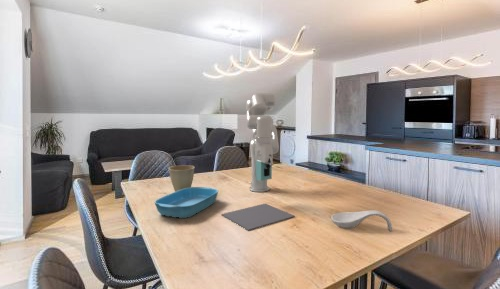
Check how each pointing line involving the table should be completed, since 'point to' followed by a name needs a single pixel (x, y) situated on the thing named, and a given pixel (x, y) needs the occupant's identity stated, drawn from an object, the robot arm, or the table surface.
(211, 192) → the casserole dish
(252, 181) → the robot arm
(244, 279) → the table surface
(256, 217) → the mat
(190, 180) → the plant pot
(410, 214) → the table surface
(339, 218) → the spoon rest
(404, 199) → the table surface
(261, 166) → the teal rectangular block
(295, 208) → the table surface
